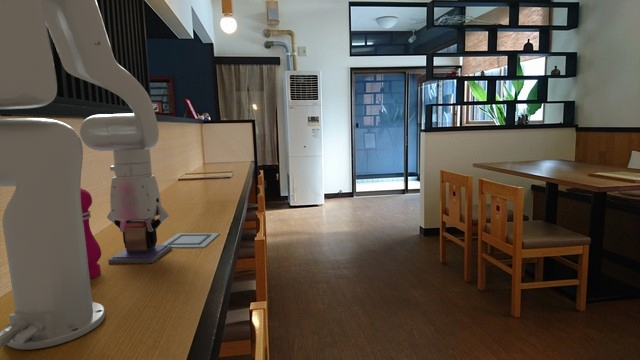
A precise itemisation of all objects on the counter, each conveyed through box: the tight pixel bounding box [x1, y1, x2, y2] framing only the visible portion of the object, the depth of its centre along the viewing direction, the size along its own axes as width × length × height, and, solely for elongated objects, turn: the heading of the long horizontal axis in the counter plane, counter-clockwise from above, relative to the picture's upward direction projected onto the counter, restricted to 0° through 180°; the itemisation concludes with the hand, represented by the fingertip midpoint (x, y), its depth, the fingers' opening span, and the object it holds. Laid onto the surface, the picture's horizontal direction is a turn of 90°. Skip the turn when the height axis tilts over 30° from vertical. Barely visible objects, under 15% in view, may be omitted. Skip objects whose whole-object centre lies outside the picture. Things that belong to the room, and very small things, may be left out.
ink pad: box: [107, 244, 172, 265], centre depth 90 cm, size 10×10×1 cm
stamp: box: [124, 220, 156, 253], centre depth 89 cm, size 5×5×7 cm
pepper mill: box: [80, 187, 102, 280], centre depth 77 cm, size 7×7×20 cm
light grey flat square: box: [160, 232, 220, 249], centre depth 101 cm, size 12×12×1 cm
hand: (140, 245), depth 90 cm, fingers closed on stamp, 4 cm apart
